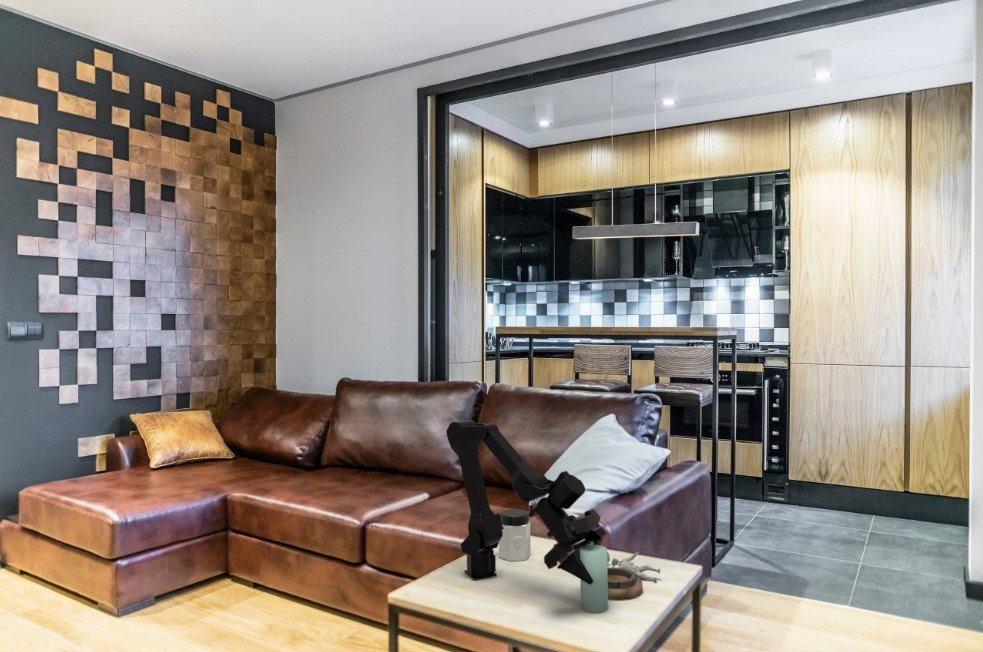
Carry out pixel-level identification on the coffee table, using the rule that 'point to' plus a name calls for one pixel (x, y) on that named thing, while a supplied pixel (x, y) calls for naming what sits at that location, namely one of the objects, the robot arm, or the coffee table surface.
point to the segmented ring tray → (623, 584)
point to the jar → (515, 535)
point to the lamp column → (594, 579)
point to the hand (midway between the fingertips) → (599, 579)
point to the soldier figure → (635, 567)
